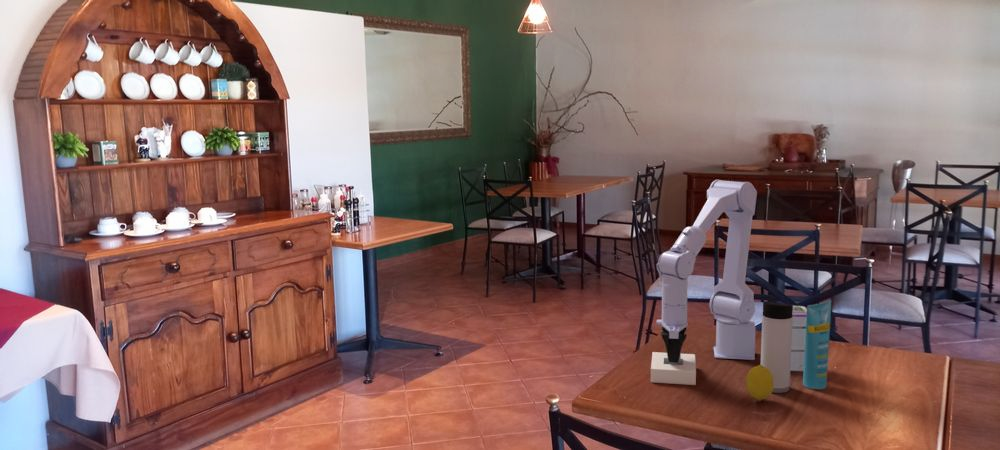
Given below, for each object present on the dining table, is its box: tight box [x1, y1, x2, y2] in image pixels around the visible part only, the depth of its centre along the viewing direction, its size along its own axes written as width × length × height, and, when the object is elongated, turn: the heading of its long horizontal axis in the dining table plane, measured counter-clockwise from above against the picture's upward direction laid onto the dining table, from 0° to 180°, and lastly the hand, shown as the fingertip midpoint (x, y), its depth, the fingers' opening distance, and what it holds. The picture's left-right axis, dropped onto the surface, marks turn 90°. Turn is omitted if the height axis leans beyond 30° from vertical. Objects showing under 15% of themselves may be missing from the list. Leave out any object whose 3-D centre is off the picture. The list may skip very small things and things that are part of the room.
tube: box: [802, 300, 832, 390], centre depth 169 cm, size 7×5×19 cm, turn 123°
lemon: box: [745, 364, 774, 402], centre depth 163 cm, size 6×6×8 cm
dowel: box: [667, 351, 682, 365], centre depth 179 cm, size 3×3×7 cm
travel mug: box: [760, 301, 794, 394], centre depth 168 cm, size 6×7×20 cm
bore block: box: [650, 351, 697, 386], centre depth 179 cm, size 10×12×3 cm
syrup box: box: [790, 305, 807, 372], centre depth 182 cm, size 6×6×14 cm
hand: (673, 359), depth 179 cm, fingers open, 3 cm apart
